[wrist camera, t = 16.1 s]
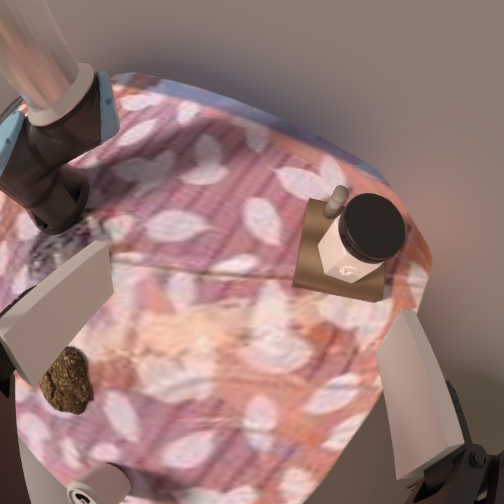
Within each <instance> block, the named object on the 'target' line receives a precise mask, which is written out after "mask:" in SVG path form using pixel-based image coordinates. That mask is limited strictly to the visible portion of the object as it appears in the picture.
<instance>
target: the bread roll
mask: <svg viewBox="0 0 504 504" xmlns="http://www.w3.org/2000/svg"><path fill="white" fill-rule="evenodd" d="M38 384H39V386H40V388H41V390H42V392H43V395H44V397H45V398H46V400H47V401H48V403H49V404H50V405H51V406H52V407H54V409H57V410H59V411H60V412H64V411H65V412H70V413H73V414H77V415H78V414H80V413H81V412H82V411H83V410H84V407H85V401H87V400H88V398H89V384H88V380H87V378H86V375H85V362H84V361H83V359H82V356H81V355H80V354H79V352H77V351H76V350H74V349H72V348H68V347H66V348H65V349H64V350H63V351H62V353H61V354H60V355H59V356H58V358H57V359H56V360H55V361H54V363H53V364H52V365H51V366H50V368H49V369H48V370H47V371H46V373H45V374H44V375H43V377H42V378H41V379H40V381H39V382H38Z"/></svg>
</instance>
